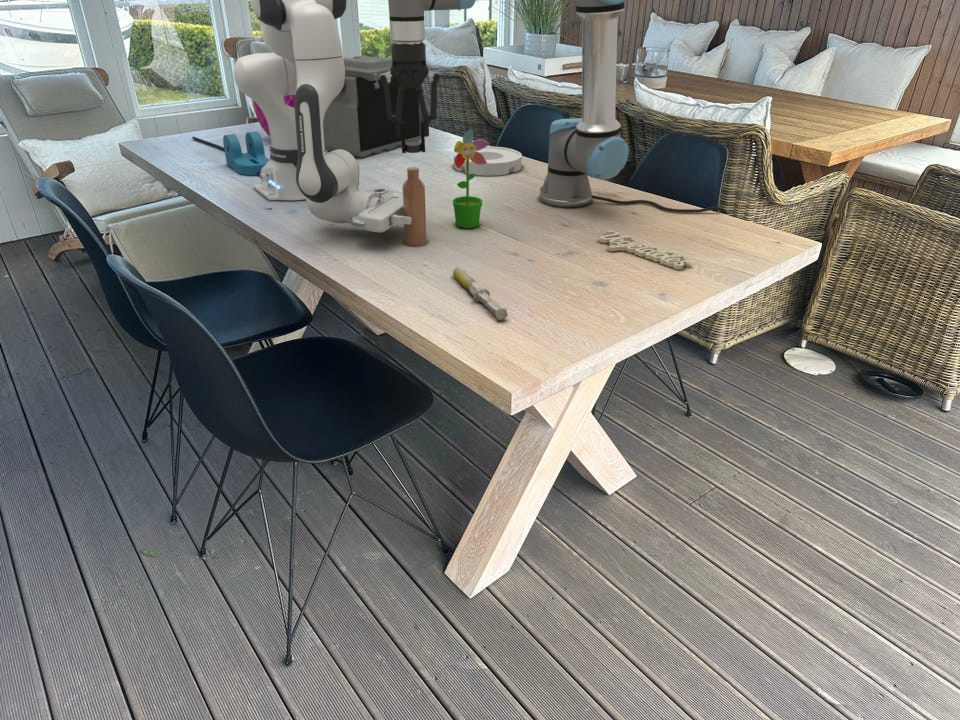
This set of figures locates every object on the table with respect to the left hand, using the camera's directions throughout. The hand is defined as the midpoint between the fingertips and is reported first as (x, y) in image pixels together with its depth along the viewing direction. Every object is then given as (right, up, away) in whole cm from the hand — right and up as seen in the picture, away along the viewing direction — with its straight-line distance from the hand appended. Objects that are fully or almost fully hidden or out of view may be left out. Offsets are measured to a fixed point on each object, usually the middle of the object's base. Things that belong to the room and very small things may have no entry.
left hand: (418, 216), depth 169 cm
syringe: (+15, -22, -24) cm, 36 cm away
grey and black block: (-26, +45, +89) cm, 103 cm away
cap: (0, +15, -8) cm, 17 cm away
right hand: (0, +14, -8) cm, 16 cm away
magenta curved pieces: (-60, +49, +96) cm, 124 cm away
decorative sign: (+54, -9, -1) cm, 55 cm away
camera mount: (-61, +28, +60) cm, 91 cm away
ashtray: (+18, +31, +66) cm, 75 cm away
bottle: (-1, -6, +4) cm, 7 cm away
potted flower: (+12, +1, +15) cm, 19 cm away
